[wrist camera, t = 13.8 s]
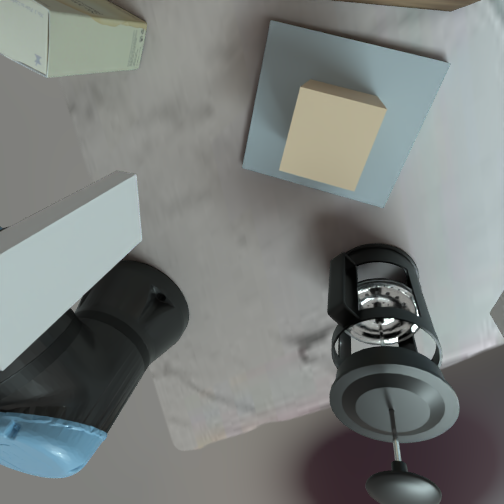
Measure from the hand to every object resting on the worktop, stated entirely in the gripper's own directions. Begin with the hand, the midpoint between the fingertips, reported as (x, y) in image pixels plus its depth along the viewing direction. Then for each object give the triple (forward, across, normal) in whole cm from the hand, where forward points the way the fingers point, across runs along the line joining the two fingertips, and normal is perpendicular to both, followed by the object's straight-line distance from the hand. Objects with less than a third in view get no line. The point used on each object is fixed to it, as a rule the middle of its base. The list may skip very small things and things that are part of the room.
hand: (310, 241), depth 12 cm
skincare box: (+24, -22, +5) cm, 33 cm away
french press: (+24, +8, -16) cm, 30 cm away
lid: (+24, 0, 0) cm, 24 cm away
